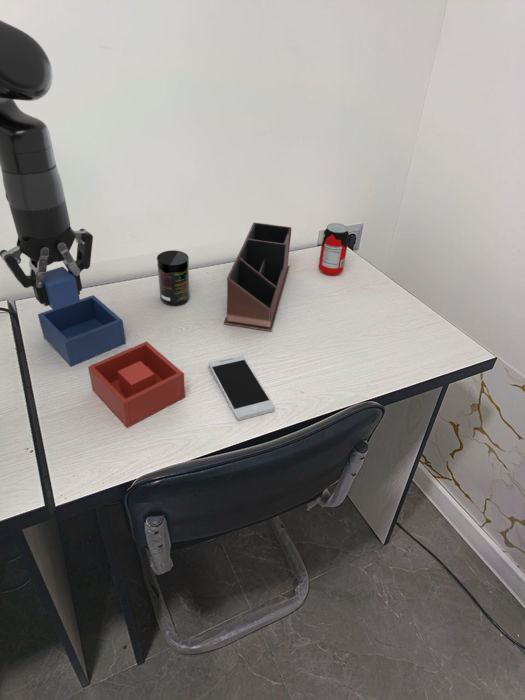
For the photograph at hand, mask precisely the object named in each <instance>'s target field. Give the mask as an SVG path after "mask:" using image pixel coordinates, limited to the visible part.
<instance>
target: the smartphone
mask: <svg viewBox="0 0 525 700" xmlns="http://www.w3.org/2000/svg"><path fill="white" fill-rule="evenodd" d="M208 368H209V370H210V372H211V374H212V376H213V378H214V379H215V381H216V384H217V385H218V388H219V389H220V391H221V393H222V395H223V397H224V399H225V401H226V403H227V405H228V406H229V408H230V411H231V412H232V414H233V416H234V418H235V419H236V421H242V420H246V419H249V418H253V417H257V416H260V415H264V414H268V413H272V412H275V404H274V403H273V401H272V400H271V398H270V396H269V395H268V393H267V391H266V390H265V388H264V386H263V385H262V383H261V381H260V380H259V379H258V376H257V375H256V374H255V372H254V371H253V369H252V367H251V366H250V364H249V362H248V361H247V359H246V358H245V356H244V355H242V354H241V355H240V354H239V355H236V356H232V357H226V358H222V359H217V360H213V361H208Z"/></svg>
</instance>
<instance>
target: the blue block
mask: <svg viewBox="0 0 525 700" xmlns="http://www.w3.org/2000/svg"><path fill="white" fill-rule="evenodd" d="M44 286H45V288H46V292H47V296H48V299H49V303H50V305H48V307H50V308H51V310H52V309H53V310H57V309H60V308H62V307H65V306H68V305H71V304H74V303H76V302H79V301H80V295H79V293H78V289H77V284H76V279H75V277H74V276H73V275H72V274H70V273H69V272H68V269H67V268H66V267H64V266H59V267H56V268H53V269H49V270H46V274H45V275H44Z"/></svg>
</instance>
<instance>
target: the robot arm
mask: <svg viewBox="0 0 525 700" xmlns="http://www.w3.org/2000/svg"><path fill="white" fill-rule="evenodd" d="M53 79H54V74H53V67H52V64H51V61H50V58H49V57H48V55H47V53H46V51H45V50H44V49H43V47H42V46H41V44H40V43H39V42H38V41H37V40H36V39H34V38H33V37H32V36H31V35H29V33H27V32H25V31H23V30H21V29H19V28H17V27H16V26H14V25H12V24H9V23H7V22H5V21H3V20H1V19H0V170H1V176H2V184H3V187H4V192H5V198H6V200H7V202H8V206H9V209H10V213H11V216H12V220H13V223H14V227H15V230H16V234H17V240H16V246H14V247H12V248H11V249H9V250H7V249H2V250H0V258H1V259H2V261H3V262H4V263H5V265H6V266H7V268H8V269H9V270H10V272H11V273H12V274H13V277H15V279H16V280H17V282H19V283H20V285H21V286H22V287H23V288H25V289H29V288H31V287H32V289H33V293H34V297H35V299H36V300H37V302H39V303H40V305H44V307H49V305H50V303H49V299H48V296H47V292H46V288H45V286H44V275H45V274H46V272H47V271H48V270H47V269H48V268H47V267H48V266H50V265H52V264H54V263H59V262H62V263H63V265H64V266H65V269H66V270H67V271H68V272H69V273H70V274H72V275H73V276H74V277H75V279H76V284H77V289H78V293H79V296H80V295H81V292H82V291H83V285H82V280H81V275H80V274H81V273H82V271H84V270H88V269H90V267H91V261H92V250H93V242H94V241H93V240H94V236H93V234H91V232H89V231H88V230H87V229H85V228H81V229H79V230H73V228H72V227H71V220H70V215H69V211H68V206H67V200H66V197H65V192H64V187H63V182H62V178H61V175H60V172H59V169H58V166H57V162H56V158H55V152H54V148H53V142H52V138H51V134H50V131H49V130H50V129H49V128H48V126H47V124H46V123H45V122H44V121H42V120H41V119H39V118H37V117H34V116H32V115H30V114H28V113H26V112H24V111H23V110H21V109H20V108H19V106H18V105H17V103H16V102H15V101H25V102H33V101H38V100H40V99H42V98H44V97H45V96H46V95H47V94H48V93H49V92H50V90H51V87H52V84H53ZM74 242H75V243H76V244H77V248H76V259H75V258H74V257H73V255H72V254H71V252H70V251H71V249H72V246H73V244H74ZM22 254H23V255H24V256H26V257H27V258H29V262H28V264H29V265H28V266H29V275H27V274H26V273H25V272H24V270H23V269H22V267H21V266H20V264H21V263H22V259H21V256H22Z"/></svg>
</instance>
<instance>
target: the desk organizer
mask: <svg viewBox="0 0 525 700" xmlns="http://www.w3.org/2000/svg"><path fill="white" fill-rule="evenodd" d="M291 236H292V227H291V226H283V225H277V224H269V223H261V222H252V225H251V226H250V229H249V231H248V233H247V235H246V237H245V240H244V242H243V244H242V246H241V248H240V250H239V252H238V254H237V256H236V258H235V260H234V262H233V265H232V267H231V269H230V270H229V273H228V275H227V277H226V317H225V318H224V322H223V325H229V326H236V327H242V328H249V329H256V330H260V331H261V330H262V331H268V332H272V331H273V327H274V323H275V320H276V317H277V313H278V309H279V306H280V302H281V299H282V295H283V291H284V287H285V284H286V281H287V277H288V274H289V270H290V265H289V256H290V247H291V246H290V245H291V239H292V237H291Z"/></svg>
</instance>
